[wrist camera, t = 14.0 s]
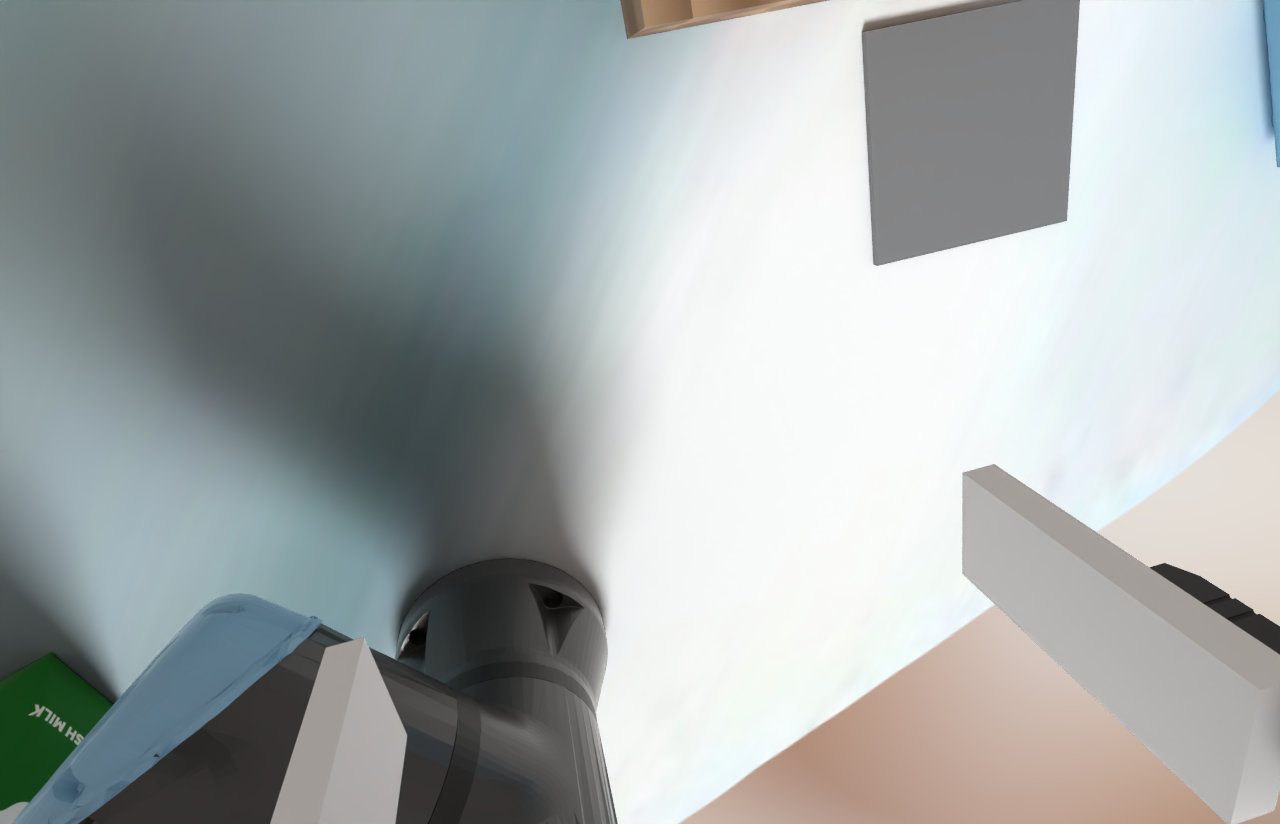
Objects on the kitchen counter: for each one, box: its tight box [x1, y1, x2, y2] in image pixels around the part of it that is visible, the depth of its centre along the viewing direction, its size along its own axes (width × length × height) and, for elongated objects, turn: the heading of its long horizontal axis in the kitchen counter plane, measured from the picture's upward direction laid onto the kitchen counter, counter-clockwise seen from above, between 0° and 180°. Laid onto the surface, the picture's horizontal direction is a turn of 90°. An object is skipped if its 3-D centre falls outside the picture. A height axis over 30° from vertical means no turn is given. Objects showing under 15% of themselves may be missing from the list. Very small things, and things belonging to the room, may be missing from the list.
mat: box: [862, 0, 1080, 266], centre depth 45 cm, size 14×14×1 cm
